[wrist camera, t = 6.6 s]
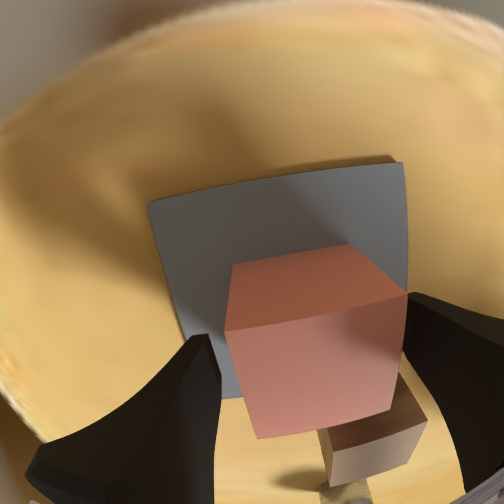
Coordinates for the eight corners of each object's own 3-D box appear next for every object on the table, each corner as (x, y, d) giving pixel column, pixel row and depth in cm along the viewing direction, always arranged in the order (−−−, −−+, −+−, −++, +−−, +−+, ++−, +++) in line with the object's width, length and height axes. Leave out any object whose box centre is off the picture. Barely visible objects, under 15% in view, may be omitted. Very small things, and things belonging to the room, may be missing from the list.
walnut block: (393, 363, 14) (427, 420, 10) (383, 411, 16) (406, 463, 11) (314, 383, 15) (333, 452, 10) (316, 429, 16) (329, 487, 11)
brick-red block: (349, 243, 11) (408, 293, 7) (352, 338, 13) (390, 409, 8) (233, 264, 12) (224, 331, 7) (254, 357, 13) (257, 439, 8)
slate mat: (397, 162, 11) (402, 162, 10) (394, 358, 14) (398, 363, 14) (150, 201, 11) (146, 203, 11) (210, 394, 15) (209, 400, 14)
